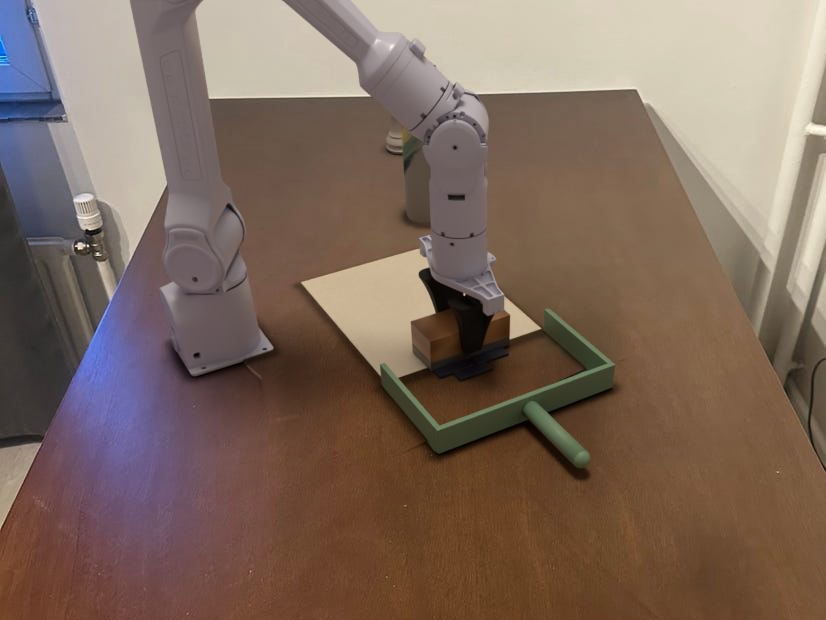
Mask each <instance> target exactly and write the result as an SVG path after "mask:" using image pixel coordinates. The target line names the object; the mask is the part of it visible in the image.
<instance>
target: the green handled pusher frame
mask: <svg viewBox="0 0 826 620" xmlns="http://www.w3.org/2000/svg"><path fill="white" fill-rule="evenodd" d="M542 325H543V328H542V331H543V332H545V333H546V334H547V336H549V337H550V338H552V340H553V341H555V343H557V344H558V345H559V346H561V348H563V349H564V350H565V351H566V352H567V353H568V354H570V355H571V356H572V357H573V358H574V360H577V361H578V362H579V363H580V364H581V365H582V366H583V367H584V369H582V370H579V371H577V372H575V373H573V374H571V375H569V376H566V377H563V378H562V379H560V380H558V381H555V382H553V383H551V384H548V385H546V386H543V387H540V388H538V389H534V390H532V391H530V392H527V393H524V394H521V395H519V396H515V397H514V398H510V399H508V400H505V401H503V402H500V403H497V404H494V405H491V406H489V407H486V408H483V409H480V410H478V411H475V412H472V413H470V414H467V415H465V416H462V417H459V418H457V419H454V420H451V421H448V422H446V423H443V424H439V423H438V422H437V421H436V420H435V418H434V417H432V415H431V414H430V413H429V412H428V411H427V410H426V408H425V407H424V406H423V405H422V404H421V402H420V401H419V400H418V399H417V398H416V397H415V396H414V395H413V393H412V392H411V391H410V390H409V389H408V388H407V387H406V386H405V384H404V383H403V382H402V381H401V379H400V378H398V377H397V376H396V375H395V374H394V373H393V372H392V371H391V369H390V368H389V367H388V366H387V365H386V364H385V363H382V364H380V371H381V376H380V380H381V381H380V382H381V386H382V388H383V390H385V391H386V392H387V394H389V397H391V398H392V400H393V401H394V403H396V404H397V405H398V407H399V408H400V409H401V410H402V411H403V413H404V414H405V415H406V416H407V417H408V418H409V420H410V421H411V422H412V423H413V425H414V426H415V427H416V428H417V430H419V432H420V433H421V435H422V436H424V438H425V439H426V440H425V441H426V443H427V444H428V445H429V447H430V448H431V449H432V450H433V451H434V453H437V454H438V455H439V454H443V453H445V452H447V451H450V450H453V449H455V448H458V447H460V446H463V445H465V444H469V443H471V442H473V441H476V440H479V439H482V438H484V437H487V436H489V435H491V434H494V433H498V432H499V431H503V430H505V429H507V428H510V427H512V426H515V425H518V424H520V423H523V422H525V421H529V422H530V423H531V424H532V425H533V426H534V427H535V428H536V429H537V430H538V431H539V432H540V433H541V434H542V435H543V436H544V437H545V438H546V439H547V440H548V441H549V442H550V443H551V444H552V445H553V446H554V447H555V448H556V449H557V450H558V451H559V452H560V453H561V454H562V455H563V456H564V457H565V458H566V459H567V460H568V461H569V462H570V463H571V465H573V466H574V467H575V468H576V469H577V468H578V469H584V468H587V467H588V466H589V465H590V463H591V455H590V453H589V452H588V451H587V450H586V448H584V447H583V446H582V445H581V444H580V443H579V442H578V441H577V440H576V439H575V438H574V437H573V435H571V434H570V433H569V432H568V431H567V430H566V429H565V428H564V427H563V426H562V425H561V424H560V423H559V422H558V421H556V419H554V417H552V416H551V414H549V412H553V411H554V410H557V409H560V408H562V407H565V406H567V405H570V404H572V403H575V402H577V401H581V400H584V399H586V398H588V397H592V396H594V395H596V394H599V393H602V392H604V391H607V390H609V389H611V388H613V385H614V378H615V370H616V363H614V362H613V361H612V360H611V359H610V358H608V357H607V356H606V355H605V354H603V352H601V351H600V350H599V349H598V348H596V346H594V345H593V344H592V343H591V342H589V341H588V340H587V339H586V338H584V336H583V335H581V334H580V333H579V332H578V331H577V330H576V329H574V328H573V327H572V326H571V325H569V324H568V323H567V322H566V321H564V319H562V318H561V317H560V316H559V315H558V314H556V313H555V312H554V311H552V309H550V307H549V308H545V309H544V310H543V324H542Z"/></svg>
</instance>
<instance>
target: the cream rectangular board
mask: <svg viewBox="0 0 826 620" xmlns="http://www.w3.org/2000/svg"><path fill="white" fill-rule="evenodd" d="M425 268H429V264H428V261H427V257H423V256H422V255H421V254H420V247H418V248H416V249H411V250H409V251H405V252H402V253H398V254H394V255H392V256H388V257H383V258H380V259H378V260H374V261H370V262H366V263H362V264H360V265H356V266H352V267H349V268H345V269H341V270H339V271H334V272H331V273H329V274H325V275H321V276H318V277H313V278H311V279H306V280H304V281H300V283H301V285H302V286H303V287H304V288H305V290H306V291H307V292H308V293H309V294H310V295H311V297H312V298H313V299H314V300H315V301H316V302H317V304H318V305H319V306H320V307H321V308H322V309H323V310H324V312H325V313H326V314H327V315H328V316H329V318H330V319H331V320H332V321H333V322H334V323H335V325H336V327H338V328H339V329H340V331H341V332H342V333H343V334H344V335H345V337H346V338H347V339H348V340H349V342H351V344H352V345H353V346H354V347H355V348H356V350H358V352H359V353H360V354H361V356H362V357H363V358H364V359H365V360H366V361H367V362H368V363H369V365H370V366H371V367H372V368H373V369H374V370H375V372H376V373H377V374H378V375H379V376H380V377H381V371H380V364H382V363H385V364H386V365H387V366H388V367H389V368H390V369H391V371H392V372H393V373H394V374H395V375H396V376H397V377H398V379H400V378H402V377H404V376H407V375H410V374H414V373H417V372H420V371H422V370H425V369H428V368H427V367H426V366H425V365H424V363H423V362H422V361H421V360H420V359H419V358H418V357H417V356H416V355H415V354H414V353H413V350H412V335H411V321H413V320H416V319H420V318H423V317H426V316H429V315H432V314H435V309H434V306H433V303H432V300H431V298H430V295H429V293H428V291H427V289H426V287H425V286H424V284H423V282H422V281H421V279H420V278H419V271H421V270H422V269H425ZM463 295H464V296H465V293H464V294H463ZM504 310H505V311H506V312H508V313H509V314H510V340H513V339H516V338H519V337H521V336H525V335H528V334H530V333H533V332H536V331H539V330H542V327H540V326H539V324H537V323H536V322H534V320H532V319H531V318H530V317H529V316H528V315H527V314H526V313H524V311H522V310H521V309H520V308H519V307H518V306H516V305H515V304H514V303H513V302H512V301H510V300H509V298H507V297H506V296H505V295H504Z"/></svg>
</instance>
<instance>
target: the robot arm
mask: <svg viewBox="0 0 826 620" xmlns="http://www.w3.org/2000/svg"><path fill="white" fill-rule="evenodd" d="M281 1H282V2H284V4H286V5H287V6H288V7H289V8H291V9H292V10H293V11H294V12H295V13H296V14H297V15H299V16H300V17H301V18H302V19H303V20H304V21H306V22H307V23H308V24H309V25H311V27H313V28H314V29H315V30H316V31H318V32H319V34H321V35H322V36H323V37H324V38H325V39H327V40H328V41H329V42H330V43H331V44H332V45H334V46H335V47H336V48H337V49H338V50H339V51H341V52H342V54H344V55H345V56H347V57H348V58H349V59H350V60H351V61H352V62H353V63H354V64H355V65H356V69H357V75H358V83H359V87H360V88H361V89H362V90H363V91H365V92H366V93H367V94H368V95H369V96H370V97H371V98H372V99H374V101H375V102H376V103H377V104H378V105H379V106H380V107H382V109H384V110H385V111H386V112H387V113H388V114H389V116H390V115H391V116H392V117H394V118H395V119H396V120H397V121H398V122H399V123H400V124H401V125H402V126H403V127H404V128H405V129H406V130H407V131H409V132H410V133H411V134H412V135H413V136H414V137H416V138H418V139H420V140H421V141H423V142H425V145H423V147H422V148H423V153H424V157H425V159H426V161H427V163H428V164H429V165H430V169H431V178H430V181H429V195H430V219H431V223H430V234H427V235H425V236H421V237H419V238H418V245H419V247H418V248H420V254H421V255H422V256H423V257H427V261H428V264H429V268H425V269H422V270H421V271H419V278H420V279H421V281H422V282H423V284H424V286H425V287H426V289H427V291H428V293H429V295H430V298H431V300H432V303H433V306H434V309H435V313H438V312H441V311H445V310H448V309H452V311H453V313H454V315H455V318H456V321H457V325H458V329H459V336H460V343H461V347H462V350H463V352H464V353H465V354H470V353H473V352H476V351H479V350H481V349H482V346H483V343H484V339H485V336H486V333H487V330H488V327H489V324H490V322H491V320H492V318H493V316H494V315H495V314H496V313H499V312H501V311H504V296H505V293H504V292H503V291H502V290H501V289H500V287H499V286H498V283H497V280H496V278H495V275H494V273H493V270H492V267H494V266H496V265H497V258H496V256H494V255H493V254H492V253H491V252H489V251H488V227H489V226H488V225H489V222H488V221H489V219H488V218H489V216H488V215H489V213H488V212H489V209H488V208H489V207H488V206H489V203H488V202H489V200H488V199H489V198H488V197H489V192H488V191H489V181H488V177H487V173H488V163H487V157H488V153H489V147H488V140H489V139H488V138H489V132H490V119H489V113H488V110H487V109H486V107H485V105H484V103H483V102H482V101H481V100H480V97H479V95H478V94H477V93H475V92H473V91H472V90H470V89H469V90H468V89H465V88H464V87H463V86H462V84H461V83H460V82H459V81H456V82H455V83H454V84H453V83H452V82H451V81H450V80H449V78H448V77H446V76H445V75H444V74H443V73H442V72H441V71H440V70H439V69H438V67H437V66H436V67H435V66H434V65H435V64H434V63H432V62H431V61H430V60H429V58H427V57H426V55H425V54H426V53H425V52H426V49H427V48H426V45H424V44H423V43H422V42H421V41H420V39H418V38H417V37H414V38H413V39H412V40H409V39H408V38H407V37H406V36H405V35H404V34H403V33H402V32H395V31H394V32H391V31H380V30H379V29H378V28H377V27H376V26H375V25H374V24H373V23H372V22H371V20H370V19H368V17H367V16H366V15H365V14H364V13H363V12H362V11H361V9H360V8H358V7H357V6H356V5H355V3H354V2H353V1H352V0H281ZM202 2H204V0H129V4H130V5H129V6H130V10H131V14H132V19H133V24H134V28H135V33H136V39H137V44H138V48H139V53H140V59H141V63H142V68H143V72H144V77H145V84H146V86H147V92H148V98H149V102H150V106H151V111H152V116H153V117H152V118H153V121H154V126H155V132H156V136H157V142H158V146H159V150H160V151H159V152H160V155H161V156H160V157H161V160H162V166H163V170H164V175H165V180H166V185H167V189H168V198H167V205H166V211H165V216H164V225H163V228H164V233H165V238H166V239H165V246H164V247H163V248H164V249H163V251H162V254H161V263H162V268H163V269H164V271H165V273H166V275H167V277H168V278H169V279H170V280H171V282H169V283H166V284H165V285H163V286H160V287H159V288H158V296H159V300H160V303H161V307H162V311H163V314H164V318H165V321H166V325H167V329H168V333H169V335H170V342H171V344H172V346H173V348H174V350H175V352H177V354H178V356H179V358H180V359H181V362H183V364H184V366H185V368H186V369H187V370H188V372H189V374H190V375H191V377H197V376H201V375H204V374H207V373H210V372H213V371H218V370H220V369H224V368H227V367H230V366H232V365H233V366H234V365H236V364H239V363H242V362H245V360H247V359H251V358H253V357H256V356H259V355H263V354H266V353H269V352H272V351H273V350H274V346H273V344H272V343H271V342H270V341H269V339H268V337H266V335H265V334H264V332H263V331H262V329H261V328H260V327H259V322H258V318H257V314H256V313H257V312H256V309H255V304H254V298H253V294H252V289H251V284H250V279H249V275H248V269H247V265H246V263H245V260H244V259H243V257H242V254H241V251H240V248H241V246H242V245H243V243H244V241H245V239H246V236H247V228H246V227H247V226H246V223H245V220H244V218H243V216H242V214H241V213H240V211H239V210H238V208H237V207H236V205H235V202H234V199H233V193H232V189H231V188H230V187H229V185H227V184H226V183H225V182H224V181H223V179H222V172H221V165H220V160H219V153H218V146H217V141H216V134H215V128H214V121H213V116H212V115H213V114H212V109H211V102H210V96H209V90H208V84H207V78H206V71H205V66H204V60H203V59H204V58H203V52H202V47H201V40H200V34H199V28H198V27H199V26H198V21H197V14H196V11H197V8H198V7H199V6H200V4H202ZM391 116H390V117H391ZM464 293H465V296H464V295H463V294H464Z"/></svg>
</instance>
